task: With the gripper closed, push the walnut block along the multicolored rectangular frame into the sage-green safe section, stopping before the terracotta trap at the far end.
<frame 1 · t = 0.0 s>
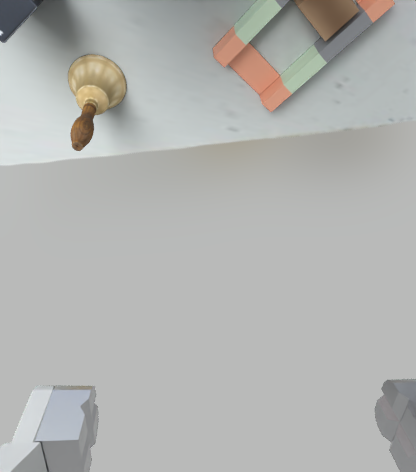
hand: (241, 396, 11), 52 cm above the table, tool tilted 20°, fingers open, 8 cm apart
hand bell: (98, 82, 57), on the table
multicolored rectangular frame: (296, 23, 52), on the table
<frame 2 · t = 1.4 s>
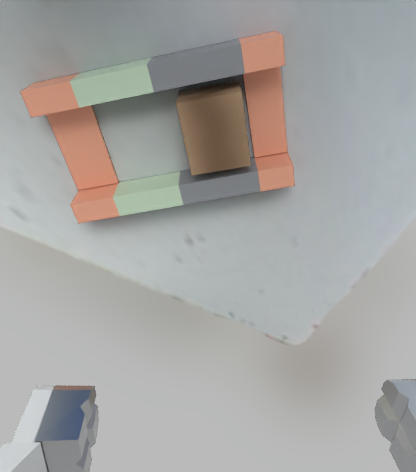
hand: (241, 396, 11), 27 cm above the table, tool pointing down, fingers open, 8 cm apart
multicolored rectangular frame: (169, 130, 34), on the table
walnut block: (214, 120, 34), on the table
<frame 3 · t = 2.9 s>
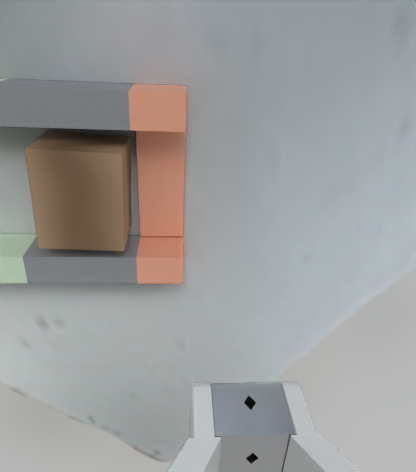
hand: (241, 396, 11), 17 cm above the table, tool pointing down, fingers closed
multicolored rectangular frame: (27, 178, 25), on the table
walnut block: (92, 179, 25), on the table
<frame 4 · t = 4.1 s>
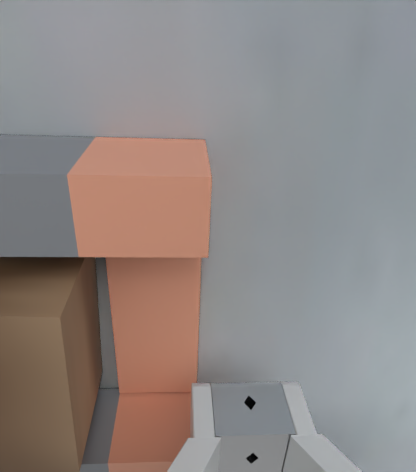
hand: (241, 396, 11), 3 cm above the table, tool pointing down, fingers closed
walnut block: (26, 305, 14), on the table
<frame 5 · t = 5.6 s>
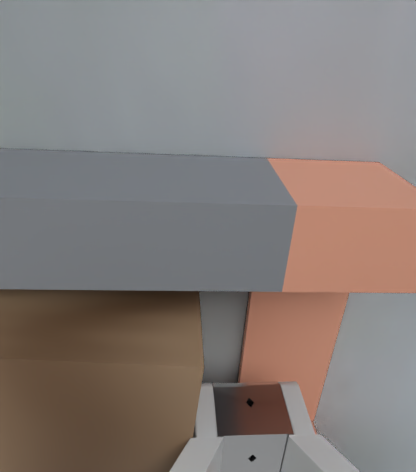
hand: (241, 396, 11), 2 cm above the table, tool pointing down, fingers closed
multicolored rectangular frame: (23, 336, 12), on the table
walnut block: (109, 335, 12), on the table, touching gripper
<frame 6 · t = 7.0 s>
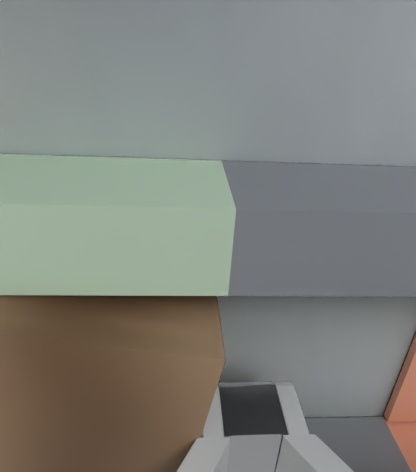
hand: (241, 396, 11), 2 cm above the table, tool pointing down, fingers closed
multicolored rectangular frame: (208, 339, 13), on the table
walnut block: (112, 324, 12), on the table, touching multicolored rectangular frame, gripper
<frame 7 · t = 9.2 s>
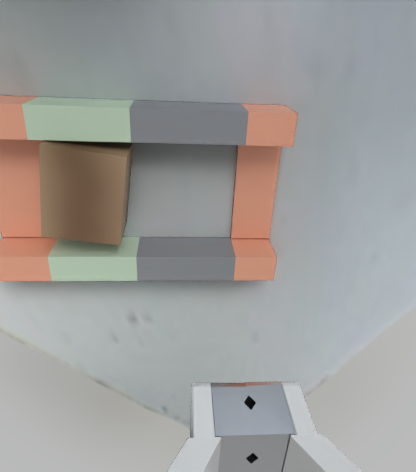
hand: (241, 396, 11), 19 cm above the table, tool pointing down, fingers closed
multicolored rectangular frame: (137, 187, 28), on the table
walnut block: (94, 177, 28), on the table
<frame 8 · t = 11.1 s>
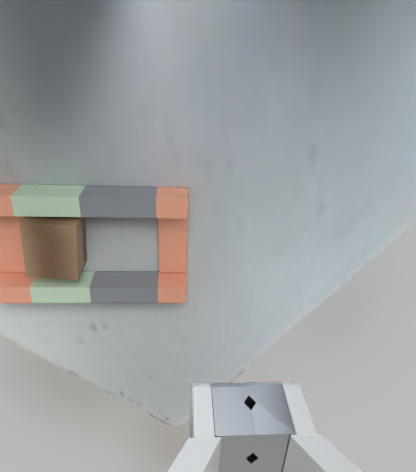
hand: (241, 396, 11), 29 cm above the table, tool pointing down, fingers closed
multicolored rectangular frame: (91, 239, 41), on the table
walnut block: (61, 232, 41), on the table
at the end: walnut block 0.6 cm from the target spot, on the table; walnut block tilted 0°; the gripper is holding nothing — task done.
